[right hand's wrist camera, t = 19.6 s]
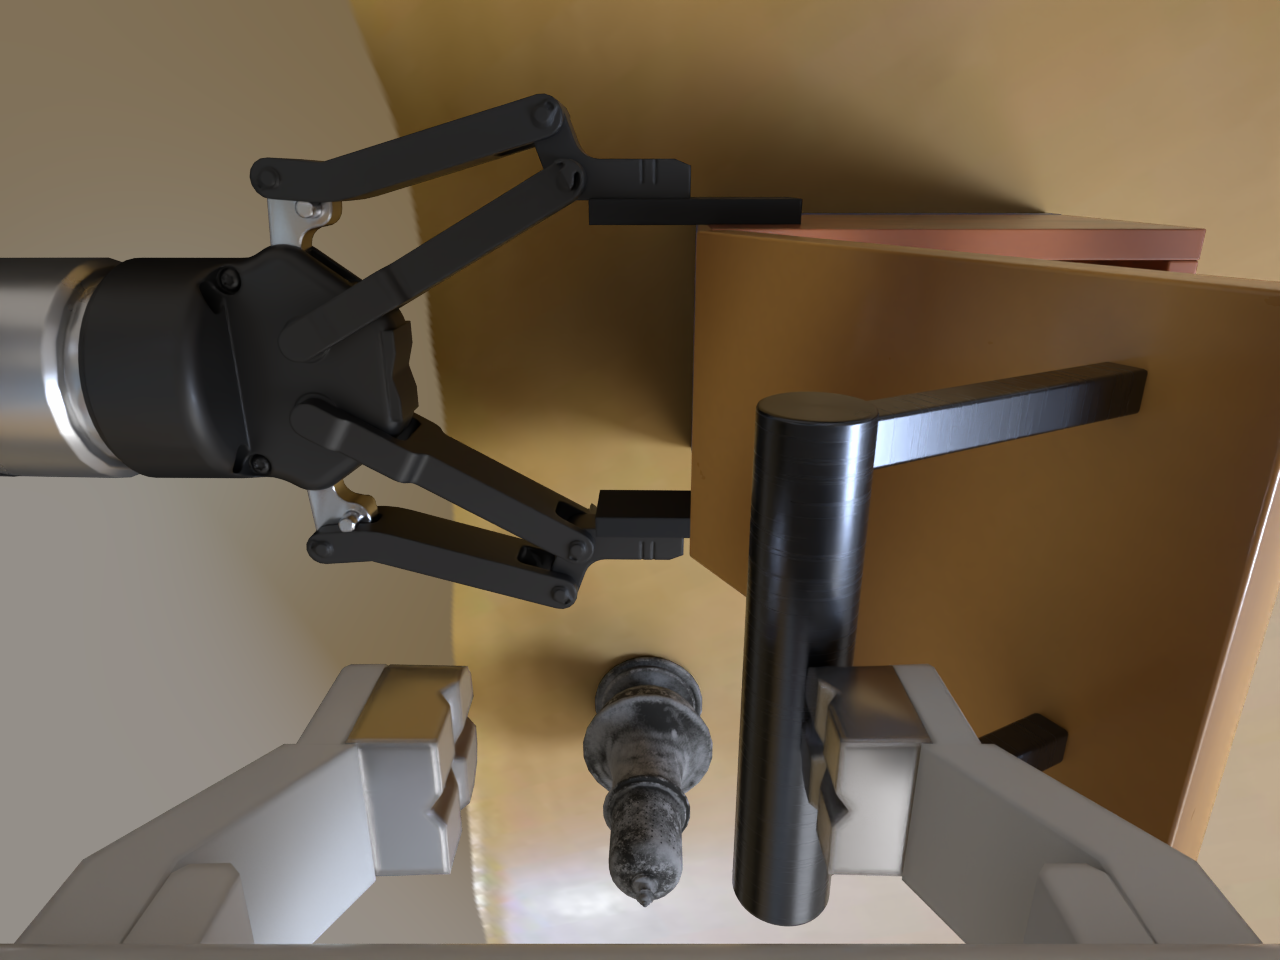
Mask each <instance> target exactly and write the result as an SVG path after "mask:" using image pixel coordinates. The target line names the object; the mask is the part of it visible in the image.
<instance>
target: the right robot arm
mask: <svg viewBox="0 0 1280 960" xmlns="http://www.w3.org/2000/svg"><path fill="white" fill-rule="evenodd" d="M805 698H806V701H807V705H808V708H809V711H810V715H811V717H810V718H809V719H808V720H807V721H806V722H805V723H804V725H803V726H802V741H801V759H802V774H803V780H804V787H805V791H806V795H807V799H808V803H809V804H811V805H812V806H813V807H814V808H815V809H817V810H818V812H817V824H816V832H817V836H818V840H819V843H820V847H821V850H822V854H823V857H824V861H825V864H826V868H827V872H828V874H841V875H877V876H902V880H903V881H904V882H905V883H906V884H907V885H908V886H909V887H910V888H911V889H912V890H913V891H914V892H915V893H916V894H917V895H918V896H919V897H920V898H921V899H922V900H923V901H924V902H925V903H926V904H927V905H928V906H929V907H930V908H931V909H932V910H933V911H934V912H935V913H936V914H937V915H938V916H939V917H940V918H941V919H942V920H943V921H944V922H945V923H946V924H947V925H948V926H949V927H950V928H951V929H952V930H953V931H954V932H955V933H956V934H957V935H958V936H959V937H960V938H961V939H962V940H963V941H964V942H965V943H966V944H312V943H313V942H314V941H315V940H316V939H317V938H318V937H319V936H320V935H321V934H322V933H323V932H324V931H325V930H326V929H327V928H328V927H329V926H330V925H331V924H332V923H333V922H334V921H335V920H336V919H338V917H340V916H341V915H342V914H343V913H344V912H345V910H347V909H348V908H349V907H350V906H351V905H352V904H353V903H354V902H355V901H356V900H357V899H358V898H359V897H360V896H361V895H362V894H363V893H364V892H365V891H366V890H367V889H368V888H369V887H370V886H371V885H372V884H373V883H374V882H375V881H376V878H375V876H400V875H434V874H450V872H451V869H452V865H453V861H454V858H455V854H456V851H457V847H458V844H459V840H460V836H461V833H462V822H461V809H463V808H464V807H465V806H466V805H468V804H469V803H470V800H471V796H472V792H473V788H474V782H475V774H476V766H477V733H476V725H475V724H474V723H473V722H472V721H471V720H470V719H469V718H468V717H467V715H468V712H469V709H470V706H471V702H472V699H473V687H472V678H471V672H470V670H469V668H468V666H440V665H439V666H438V665H389V666H388V665H386V664H351V665H348V666H346V667H344V668H343V669H342V670H341V672H340V673H339V675H338V677H337V678H336V680H335V682H334V683H333V685H332V687H331V688H330V690H329V691H328V693H327V695H326V696H325V698H324V700H323V701H322V703H321V704H320V706H319V708H318V709H317V711H316V713H315V714H314V716H313V718H312V719H311V721H310V722H309V724H308V726H307V727H306V729H305V731H304V732H303V734H302V735H301V737H300V739H299V740H298V742H297V744H283V745H281V746H280V747H278V748H276V749H274V750H273V751H271V752H269V753H268V754H266V755H264V756H262V757H261V758H259V759H257V760H255V761H254V762H252V763H250V764H249V765H247V766H245V767H243V768H242V769H240V770H238V771H236V772H235V773H233V774H231V775H229V776H228V777H226V778H224V779H222V780H221V781H219V782H217V783H215V784H214V785H212V786H210V787H208V788H207V789H205V790H203V791H202V792H200V793H198V794H196V795H195V796H193V797H191V798H189V799H188V800H186V801H184V802H182V803H181V804H179V805H177V806H175V807H174V808H172V809H170V810H168V811H167V812H165V813H163V814H162V815H160V816H158V817H156V818H155V819H153V820H151V821H149V822H148V823H146V824H144V825H142V826H141V827H139V828H137V829H135V830H134V831H132V832H130V833H129V834H127V835H125V836H123V837H122V838H120V839H118V840H116V841H115V842H113V843H111V844H110V845H108V846H106V847H104V848H103V849H101V850H99V851H97V852H96V853H94V854H92V855H90V856H89V857H87V858H85V859H83V860H82V861H81V863H80V864H79V865H78V866H77V868H76V869H75V870H74V871H73V872H72V874H71V875H70V876H69V877H68V879H67V880H66V881H65V882H64V883H63V885H62V886H61V887H60V888H59V890H58V891H57V892H56V893H55V894H54V896H53V897H52V898H51V899H50V900H49V902H48V903H47V904H46V905H45V906H44V908H43V909H42V910H41V911H40V913H39V914H38V915H37V916H36V917H35V919H34V920H33V921H32V922H31V923H30V925H29V926H28V927H27V928H26V930H25V931H24V932H23V933H22V934H21V936H20V937H19V938H18V939H17V941H16V942H15V943H14V944H0V960H1280V944H1263V943H1262V942H1261V940H1260V939H1259V938H1258V937H1257V935H1256V934H1255V933H1254V932H1253V931H1252V929H1251V928H1250V927H1249V926H1248V924H1247V923H1246V922H1245V921H1244V919H1243V918H1242V917H1241V916H1240V915H1239V913H1238V912H1237V911H1236V910H1235V908H1234V907H1233V906H1232V905H1231V903H1230V902H1229V901H1228V900H1227V899H1226V897H1225V896H1224V895H1223V894H1222V892H1221V891H1220V890H1219V889H1218V887H1217V886H1216V885H1215V884H1214V883H1213V881H1212V880H1211V879H1210V878H1209V876H1208V875H1207V874H1206V873H1205V871H1204V870H1203V869H1202V868H1201V867H1200V865H1199V864H1198V863H1197V862H1196V861H1195V860H1193V859H1192V858H1190V857H1188V856H1186V855H1185V854H1183V853H1181V852H1180V851H1178V850H1176V849H1174V848H1173V847H1171V846H1169V845H1167V844H1166V843H1164V842H1162V841H1161V840H1159V839H1157V838H1155V837H1154V836H1152V835H1150V834H1148V833H1147V832H1145V831H1143V830H1142V829H1140V828H1138V827H1136V826H1135V825H1133V824H1131V823H1129V822H1128V821H1126V820H1124V819H1123V818H1121V817H1119V816H1117V815H1116V814H1114V813H1112V812H1110V811H1109V810H1107V809H1105V808H1104V807H1102V806H1100V805H1098V804H1097V803H1095V802H1093V801H1091V800H1090V799H1088V798H1086V797H1085V796H1083V795H1081V794H1079V793H1078V792H1076V791H1074V790H1072V789H1071V788H1069V787H1067V786H1066V785H1064V784H1062V783H1060V782H1059V781H1057V780H1055V779H1053V778H1052V777H1050V776H1048V775H1047V774H1045V773H1043V772H1041V771H1040V770H1038V769H1036V768H1034V767H1033V766H1031V765H1029V764H1028V763H1026V762H1024V761H1022V760H1021V759H1019V758H1017V757H1015V756H1014V755H1012V754H1010V753H1009V752H1007V751H1005V750H1003V749H1002V748H1000V747H998V746H996V745H995V744H981V742H980V741H979V739H978V737H977V736H976V734H975V732H974V731H973V729H972V728H971V726H970V724H969V723H968V721H967V719H966V718H965V716H964V715H963V713H962V711H961V710H960V708H959V707H958V705H957V703H956V702H955V700H954V698H953V697H952V695H951V694H950V692H949V690H948V689H947V687H946V685H945V684H944V682H943V681H942V679H941V677H940V676H939V674H938V673H937V671H936V669H935V668H934V667H933V666H931V665H929V664H906V665H887V666H846V667H809V670H808V674H807V678H806V688H805Z"/></svg>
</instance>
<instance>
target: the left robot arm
mask: <svg viewBox="0 0 1280 960" xmlns="http://www.w3.org/2000/svg"><path fill="white" fill-rule="evenodd" d="M534 147H535V148H536V150H537V153H538V156H539V158H540V161H541V163H542V166H543V170H542V171H540V172H538V173H537V174H535V175H533V176H532V177H530V178H529V179H527V180H525V181H524V182H522V183H521V184H519V185H517V186H516V187H514V188H512V189H511V190H509V191H508V192H506V193H504V194H503V195H501V196H500V197H498V198H496V199H495V200H493V201H492V202H490V203H488V204H487V205H485V206H483V207H482V208H480V209H479V210H477V211H475V212H474V213H472V214H471V215H469V216H467V217H466V218H464V219H462V220H461V221H459V222H458V223H456V224H454V225H453V226H451V227H450V228H448V229H446V230H445V231H443V232H442V233H440V234H438V235H437V236H435V237H433V238H432V239H430V240H429V241H427V242H425V243H424V244H422V245H421V246H419V247H417V248H416V249H414V250H413V251H411V252H409V253H408V254H406V255H404V256H403V257H401V258H400V259H398V260H396V261H395V262H393V263H392V264H390V265H388V266H386V267H384V268H382V269H380V270H378V271H377V272H375V273H373V274H372V275H370V276H368V277H367V278H365V279H363V280H362V279H360V278H359V277H357V276H356V275H354V274H353V273H351V272H350V271H349V270H347V269H346V268H344V267H343V266H341V265H340V264H338V263H337V262H335V261H334V260H333V259H331V258H330V257H328V256H327V255H325V254H324V253H322V252H321V251H319V250H318V249H316V248H315V247H313V246H312V238H313V235H314V233H315V232H316V231H317V230H318V229H320V228H321V227H324V226H329V225H333V224H334V223H336V222H337V221H338V220H339V219H340V216H341V214H342V201H351V200H360V199H367V198H371V197H375V196H379V195H382V194H385V193H389V192H392V191H395V190H398V189H402V188H405V187H408V186H411V185H414V184H418V183H421V182H424V181H427V180H431V179H434V178H437V177H440V176H444V175H447V174H450V173H453V172H457V171H460V170H463V169H466V168H469V167H473V166H476V165H479V164H482V163H486V162H489V161H492V160H495V159H499V158H502V157H505V156H508V155H512V154H515V153H518V152H521V151H525V150H528V149H531V148H534ZM250 180H251V184H252V186H253V187H254V189H255V190H256V192H257V193H259V194H260V195H261V196H263V197H265V198H267V203H268V215H269V228H270V241H271V246H269V247H267V248H265V249H263V250H262V251H260V252H259V253H257V254H256V255H254V256H252V257H249V258H133V259H130V260H126V261H124V262H120V261H117V260H114V259H111V258H0V476H12V477H15V476H44V477H99V478H123V477H133V476H135V475H138V474H142V475H145V476H148V477H155V478H254V477H275V478H279V479H282V480H285V481H288V482H290V483H292V484H294V485H296V486H298V487H300V488H303V489H306V490H307V491H308V496H309V500H310V504H311V509H312V513H313V518H314V522H315V526H316V532H315V533H314V534H313V535H312V536H311V537H310V538H309V540H308V542H307V552H308V554H309V556H310V557H311V558H312V559H313V560H315V561H317V562H319V563H324V564H332V563H349V562H365V561H374V562H377V563H381V564H385V565H389V566H393V567H397V568H401V569H405V570H409V571H413V572H417V573H421V574H424V575H428V576H432V577H436V578H440V579H444V580H448V581H452V582H456V583H460V584H463V585H467V586H471V587H475V588H479V589H483V590H487V591H491V592H495V593H499V594H503V595H506V596H510V597H514V598H518V599H522V600H526V601H530V602H534V603H538V604H542V605H546V606H549V607H553V608H558V609H564V608H568V607H570V606H571V605H573V604H574V602H575V600H576V599H577V594H578V590H579V588H580V585H581V582H582V580H583V577H584V575H585V572H586V570H587V568H588V567H589V566H590V565H591V564H592V563H594V562H595V561H598V560H603V559H644V560H652V559H655V560H670V559H673V558H676V557H679V556H681V555H683V545H684V538H690V515H691V491H673V490H600V493H599V499H598V505H597V507H596V506H595V505H594V504H592V503H591V505H590V509H587V508H585V507H583V506H581V505H579V504H577V503H575V502H573V501H572V500H570V499H568V498H566V497H564V496H562V495H560V494H558V493H556V492H554V491H552V490H551V489H549V488H547V487H545V486H543V485H541V484H539V483H537V482H535V481H533V480H531V479H529V478H528V477H526V476H524V475H522V474H520V473H518V472H516V471H514V470H512V469H510V468H508V467H507V466H505V465H503V464H501V463H499V462H497V461H495V460H493V459H491V458H489V457H487V456H486V455H484V454H482V453H480V452H478V451H476V450H474V449H472V448H470V447H468V446H466V445H465V444H463V443H461V442H459V441H457V440H455V439H453V438H451V437H449V436H447V435H446V434H445V433H443V431H442V429H441V428H440V427H439V426H438V425H436V424H435V423H433V422H431V421H429V420H427V419H426V418H424V417H422V416H420V415H418V414H416V413H414V410H415V409H416V408H417V407H418V395H417V386H416V383H415V380H414V378H413V375H412V372H411V369H410V367H409V359H410V353H411V348H412V333H411V323H410V321H405V319H404V317H403V315H402V313H401V311H400V310H399V308H400V307H402V306H404V305H405V304H407V303H409V302H410V301H412V300H414V299H415V298H417V297H419V296H420V295H422V294H424V293H425V292H427V291H428V290H430V289H431V288H433V287H434V286H436V285H438V284H439V283H441V282H443V281H444V280H446V279H448V278H449V277H451V276H453V275H454V274H456V273H457V272H459V271H461V270H462V269H464V268H466V267H467V266H469V265H471V264H472V263H474V262H476V261H477V260H479V259H481V258H482V257H484V256H485V255H487V254H489V253H490V252H492V251H494V250H495V249H497V248H499V247H500V246H502V245H504V244H505V243H507V242H509V241H510V240H512V239H514V238H515V237H517V236H518V235H520V234H522V233H523V232H525V231H527V230H528V229H530V228H532V227H533V226H535V225H537V224H538V223H540V222H542V221H543V220H545V219H546V218H548V217H550V216H551V215H553V214H555V213H556V212H558V211H560V210H561V209H563V208H565V207H566V206H568V205H570V204H571V203H573V202H575V201H576V200H589V225H709V224H801V214H802V199H798V198H791V197H690V191H691V166H690V165H688V164H686V163H683V162H681V161H679V160H676V159H596V158H592V157H590V156H589V155H587V154H586V153H585V152H584V151H583V149H582V148H581V146H580V144H579V142H578V139H577V137H576V134H575V131H574V128H573V126H572V123H571V120H570V115H569V113H568V111H567V109H566V108H565V107H564V106H563V105H562V104H561V103H560V102H559V101H558V100H556V99H555V98H553V97H552V96H550V95H547V94H536V95H533V96H530V97H526V98H523V99H520V100H517V101H514V102H511V103H507V104H504V105H501V106H498V107H495V108H492V109H488V110H485V111H482V112H479V113H476V114H473V115H469V116H466V117H463V118H460V119H457V120H454V121H450V122H447V123H444V124H441V125H438V126H435V127H432V128H428V129H425V130H422V131H419V132H416V133H413V134H409V135H406V136H403V137H400V138H397V139H394V140H390V141H387V142H384V143H381V144H378V145H375V146H371V147H368V148H365V149H362V150H359V151H356V152H353V153H350V154H346V155H343V156H340V157H337V158H334V159H331V160H327V161H315V160H303V159H285V158H261V159H259V160H257V161H256V162H255V163H254V164H253V166H252V167H251V170H250ZM362 464H363V465H365V466H367V467H369V468H371V469H373V470H375V471H377V472H379V473H381V474H383V475H385V476H387V477H388V478H391V479H392V480H395V481H397V482H401V483H413V484H416V485H418V486H420V487H422V488H424V489H426V490H428V491H430V492H432V493H434V494H436V495H438V496H440V497H442V498H444V499H446V500H448V501H450V502H452V503H454V504H456V505H458V506H459V507H461V508H463V509H465V510H467V511H469V512H471V513H473V514H475V515H477V516H479V517H481V518H483V519H485V520H487V521H489V522H491V523H493V524H495V525H497V526H499V527H501V528H503V529H505V530H507V531H509V532H510V533H512V534H514V535H516V536H518V537H520V538H522V539H520V538H516V537H512V536H509V535H505V534H501V533H497V532H493V531H490V530H486V529H482V528H478V527H474V526H470V525H467V524H463V523H459V522H455V521H451V520H447V519H444V518H440V517H436V516H432V515H428V514H425V513H421V512H417V511H413V510H409V509H404V508H399V507H391V506H377V505H376V501H375V499H374V498H373V497H372V496H370V495H363V494H358V493H355V492H352V491H351V490H350V489H348V488H347V487H346V485H345V484H344V481H343V478H345V477H346V476H347V475H349V474H350V473H351V472H353V471H354V470H355V469H357V468H358V467H359V466H361V465H362Z"/></svg>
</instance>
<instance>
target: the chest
mask: <svg viewBox="0 0 1280 960" xmlns="http://www.w3.org/2000/svg"><path fill="white" fill-rule="evenodd" d="M707 230H738V231H748V232H759V233H769V234H780V235H790V236H801V237H811V238H822V239H832V240H843V241H854V242H864V243H875V244H885V245H896V246H906V247H917V248H927V249H938V250H948V251H959V252H970V253H980V254H991V255H1001V256H1012V257H1022V258H1033V259H1043V260H1054V261H1064V262H1075V263H1085V264H1096V265H1107V266H1117V267H1128V268H1138V269H1149V270H1159V271H1170V272H1180V273H1191V274H1196V270H1197V265H1198V261H1196V260H1199V259H1200V254H1201V250H1202V246H1203V241H1204V237H1205V232H1206V229H1202V228H1192V227H1182V226H1171V225H1161V224H1151V223H1141V222H1130V221H1120V220H1110V219H1099V218H1089V217H1079V216H1069V215H1061V214H1052V213H802V214H801V224H709V225H696V244H697V232H699V231H707ZM695 289H696V249H695ZM694 334H695V295H694ZM693 379H694V341H693ZM692 425H693V387H692ZM691 451H692V433H691Z"/></svg>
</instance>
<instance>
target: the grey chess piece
mask: <svg viewBox="0 0 1280 960" xmlns="http://www.w3.org/2000/svg"><path fill="white" fill-rule="evenodd" d="M595 709H596V713H597V715H595V717H594V718H593V720H592V721H591V723H590V724H589V726H588V727H587V730H586V734H585V737H584V741H583V751H584V759H585V762H586V764H587V767H588V770H589V771H590V773H591V774H592V775H593V777H594V778H595V779H596V781H597V782H598V783H599V784H601V785H602V786H603V787H604V788H606V789H607V790H608V791H609V793H608V794H607V796H606V798H605V801H604V805H603V814H604V819H605V821H606V824H607V826H608V827H609V828H610V830H611V836H610V850H609V870H610V875H611V877H612V880H613V882H614V883H615V884H616V886H617V887H618V888H619V889H620V890H621V891H622V892H624V893H625V894H626V895H627V896H630V897H632V898H634V899H636V900H637V901H638V902H639V903H640V904H641V905H643V907H647V905H649V904H650V903H652V902H653V900H656V899H659V898H661V897H664V896H665V895H667V894H668V893H669V892H671V891H672V890H673V889H674V888H675V886H676V885H677V884H678V882H679V880H680V877H681V873H682V832H683V831H684V829H685V828H686V827H687V824H688V821H689V818H690V805H689V802H688V799H687V797H686V795H685V794H684V793H686V792H688V791H689V790H690V789H691V788H693V787H694V786H695V785H696V784H698V783H699V782H700V780H701V779H702V778H703V776H704V775H705V773H706V772H707V771H708V768H709V765H710V762H711V759H712V740H711V736H710V733H709V730H708V727H707V726H706V724H705V723H704V721H703V720H702V718H701V717H700V715H701V712H702V696H701V693H700V689H699V686H698V684H697V683H696V681H695V680H694V678H693V677H692V675H691V674H689V673H688V672H687V671H686V670H685V669H684V668H682V667H681V666H679V665H677V664H675V663H673V662H671V661H669V660H665V659H660V658H656V657H640V658H636V659H631V660H627V661H625V662H623V663H621V664H619V665H617V666H615V667H614V668H613V669H612V670H611V671H609V672H608V673H607V674H606V675H605V676H604V678H603V679H602V681H601V683H600V684H599V686H598V689H597V693H596V696H595Z"/></svg>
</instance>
